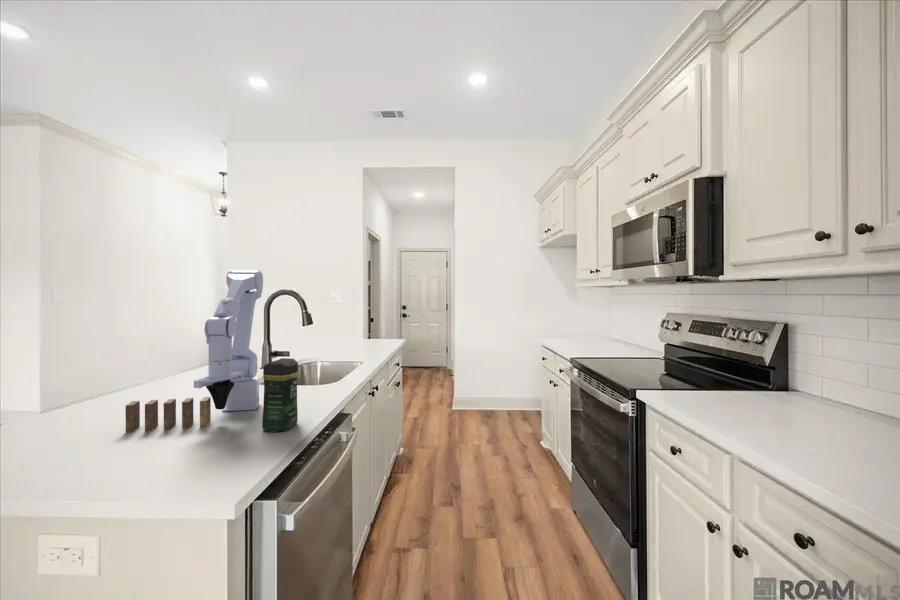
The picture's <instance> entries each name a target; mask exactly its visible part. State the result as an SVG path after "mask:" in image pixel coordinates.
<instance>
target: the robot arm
mask: <svg viewBox="0 0 900 600" xmlns="http://www.w3.org/2000/svg"><path fill="white" fill-rule="evenodd" d="M225 281H226V285H227V287H228V289H227V292H226V296H225V298H223V299H221V300H220V302H218V305H217V308H215V311H214V314H213V316H212V317H210V318H208V319H206V321H205V323H204V335H205V338H206V345H208V374H207V376H205V377H202V378H199V379H195V380H193V388H194V389H202V388H203V387H205V388H206V389H207V390H208V392H209V394H210V397H211V399H212V401H213V405H214V407H215V410H220V411H221V412H223V413H224V412H238V411H248V410H249V411H253V410H257V409H258V406H259V405H260V381H259V379H258V378H255V377H256V376H257V373H258V356H257V355H258V354H256V353H255V352H254V351H253V350H252V349H250V343H251V338H252V329H253V328H252V327H253V319H254V311H255V306H256V302H257V300H258V299H261V298H262V294H263V288H264V276H263V273H262V272H261V270H260V269H259V270H243V269H242V270H240V269H239V270H236V269H235V270H234V269H230V270H229V271H228V272H227V273H226V279H225Z"/></svg>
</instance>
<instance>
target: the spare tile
mask: <svg viewBox="0 0 900 600" xmlns="http://www.w3.org/2000/svg"><path fill="white" fill-rule="evenodd" d="M211 400H212V396H204V397H203V398H202V399H201V400H199V427H200V428H202V427H203V428H204V427H208V426H209V425H210V423H211V422H212V421H211V415H212V414H211V411H212V410H211Z"/></svg>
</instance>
